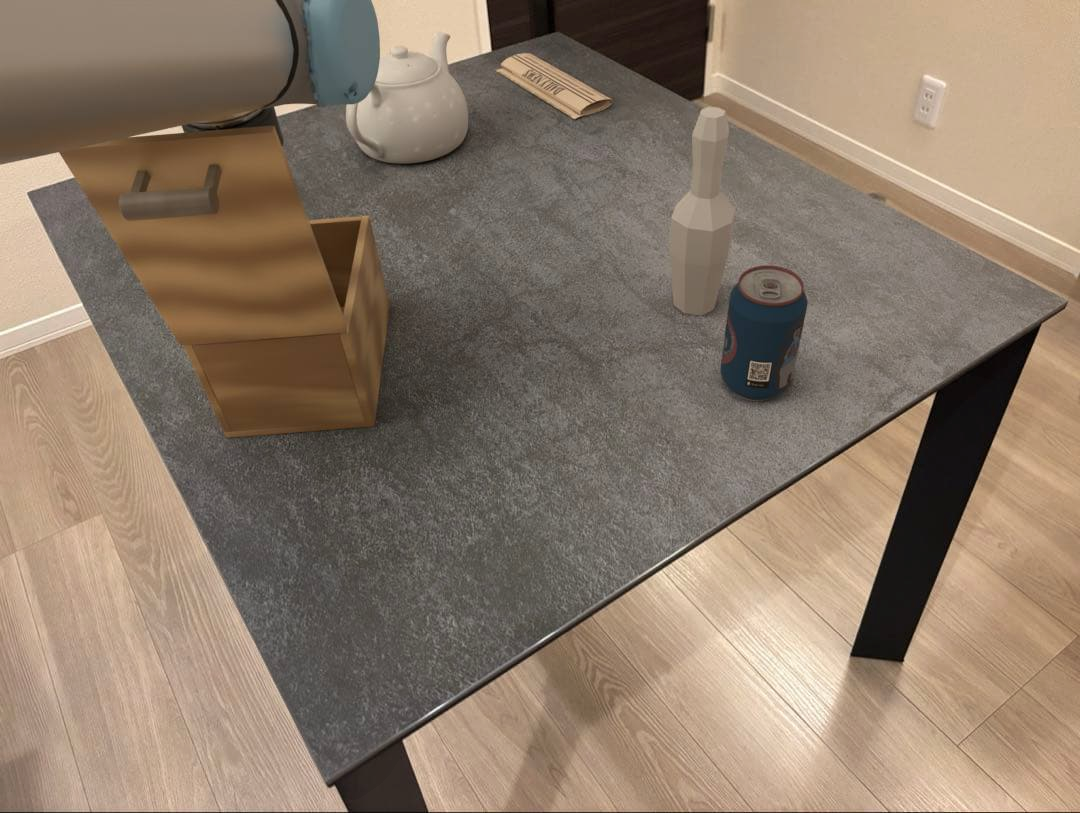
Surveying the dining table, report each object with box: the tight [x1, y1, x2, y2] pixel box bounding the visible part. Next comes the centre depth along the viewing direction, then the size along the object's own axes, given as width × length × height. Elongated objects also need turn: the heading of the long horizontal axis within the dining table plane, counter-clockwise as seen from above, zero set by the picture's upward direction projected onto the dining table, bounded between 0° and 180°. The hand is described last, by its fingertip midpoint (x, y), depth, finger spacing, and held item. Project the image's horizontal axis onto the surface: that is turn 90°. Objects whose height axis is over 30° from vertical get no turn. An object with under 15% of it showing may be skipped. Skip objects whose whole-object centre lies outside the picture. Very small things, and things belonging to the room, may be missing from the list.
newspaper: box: [495, 52, 613, 120], centre depth 133 cm, size 24×7×2 cm, turn 33°
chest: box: [183, 214, 391, 439], centre depth 84 cm, size 20×15×12 cm
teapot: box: [345, 31, 469, 165], centre depth 119 cm, size 19×18×14 cm
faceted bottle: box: [668, 106, 736, 317], centre depth 84 cm, size 6×6×22 cm
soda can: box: [720, 265, 809, 402], centre depth 78 cm, size 7×7×12 cm
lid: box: [58, 126, 347, 347], centre depth 63 cm, size 21×15×5 cm
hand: (299, 325), depth 83 cm, fingers closed on mug, 8 cm apart
